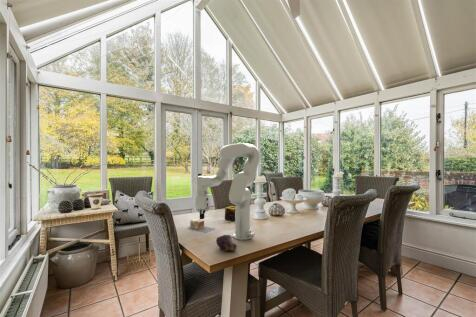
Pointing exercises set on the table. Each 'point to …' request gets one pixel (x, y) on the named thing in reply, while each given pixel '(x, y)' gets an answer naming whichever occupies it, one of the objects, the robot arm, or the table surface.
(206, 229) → the mat
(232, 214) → the candle
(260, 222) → the table surface
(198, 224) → the maple block
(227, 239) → the rock
